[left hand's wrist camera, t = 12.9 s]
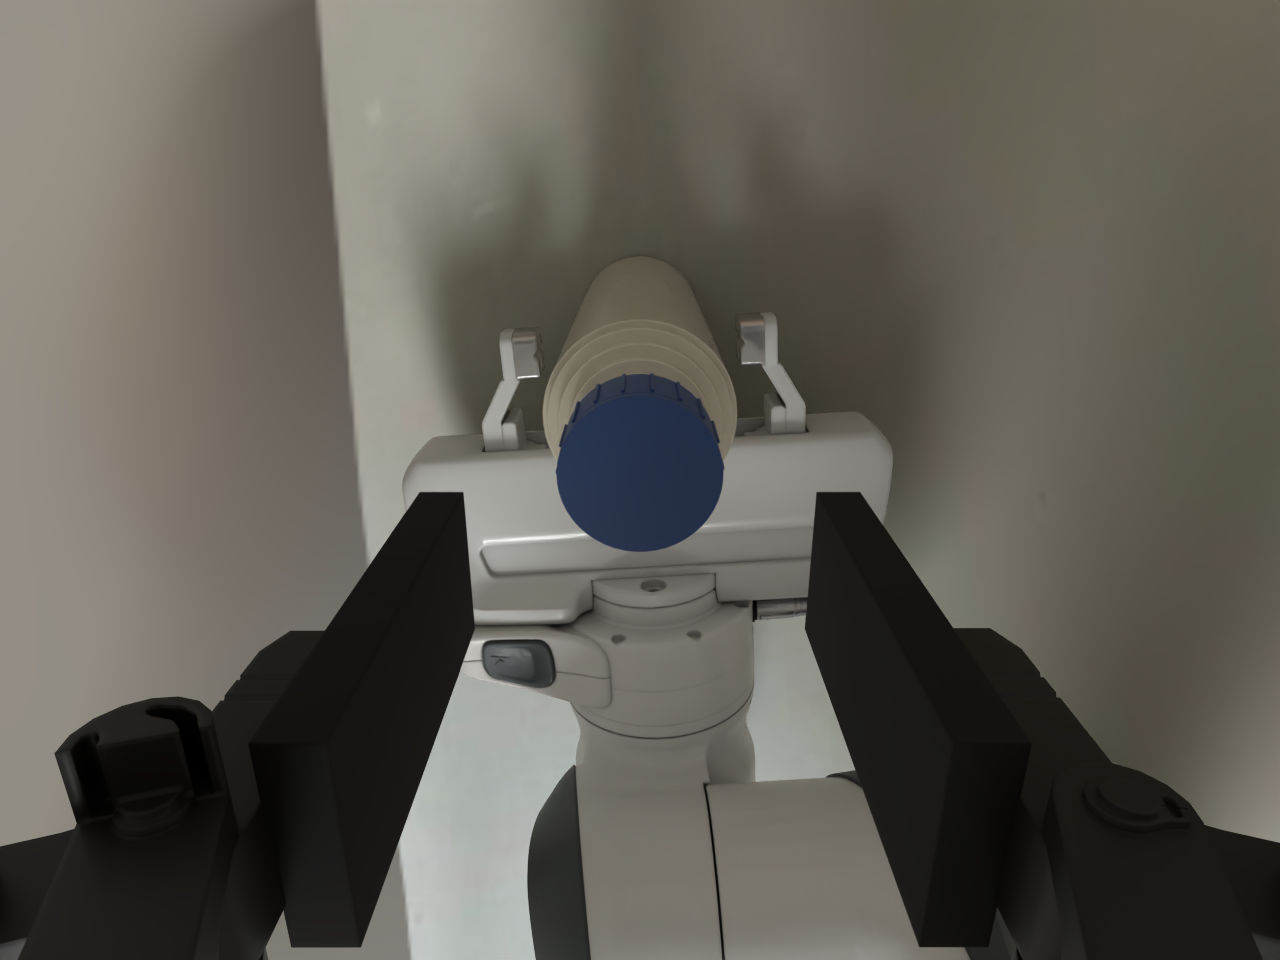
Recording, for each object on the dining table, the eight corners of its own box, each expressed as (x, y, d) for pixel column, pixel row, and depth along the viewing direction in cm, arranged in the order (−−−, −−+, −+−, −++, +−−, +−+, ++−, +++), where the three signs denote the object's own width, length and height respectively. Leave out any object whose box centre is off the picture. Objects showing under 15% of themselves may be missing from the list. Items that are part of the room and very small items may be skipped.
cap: (702, 356, 19) (709, 377, 17) (729, 504, 21) (737, 538, 19) (546, 387, 20) (536, 412, 18) (582, 531, 21) (576, 568, 19)
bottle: (686, 245, 37) (738, 331, 18) (706, 359, 39) (774, 554, 19) (570, 269, 38) (494, 380, 18) (596, 381, 40) (552, 594, 20)
